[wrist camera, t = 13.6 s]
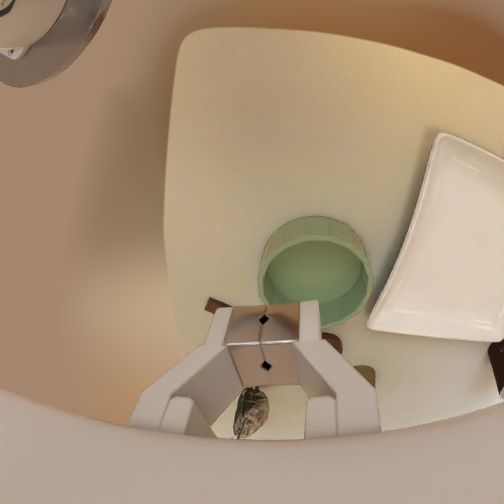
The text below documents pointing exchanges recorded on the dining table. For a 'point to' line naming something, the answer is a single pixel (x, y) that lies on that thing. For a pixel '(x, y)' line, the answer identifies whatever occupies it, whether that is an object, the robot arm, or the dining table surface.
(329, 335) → the wooden paddle
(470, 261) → the square plate
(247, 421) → the plant with pod
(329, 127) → the dining table surface
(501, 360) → the coffee mug
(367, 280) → the bowl
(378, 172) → the dining table surface
